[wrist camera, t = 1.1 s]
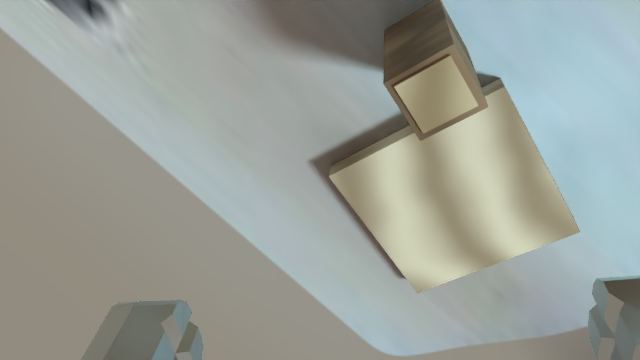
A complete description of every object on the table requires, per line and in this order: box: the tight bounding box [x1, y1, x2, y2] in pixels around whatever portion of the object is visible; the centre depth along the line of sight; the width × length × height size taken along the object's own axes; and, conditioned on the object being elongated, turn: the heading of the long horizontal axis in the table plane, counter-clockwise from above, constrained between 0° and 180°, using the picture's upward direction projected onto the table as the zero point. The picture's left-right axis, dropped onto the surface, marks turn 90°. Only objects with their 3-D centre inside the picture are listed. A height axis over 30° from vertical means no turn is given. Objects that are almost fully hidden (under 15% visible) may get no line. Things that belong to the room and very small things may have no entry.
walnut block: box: [383, 0, 488, 141], centre depth 31 cm, size 4×4×9 cm
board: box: [329, 78, 580, 293], centre depth 40 cm, size 14×14×2 cm
